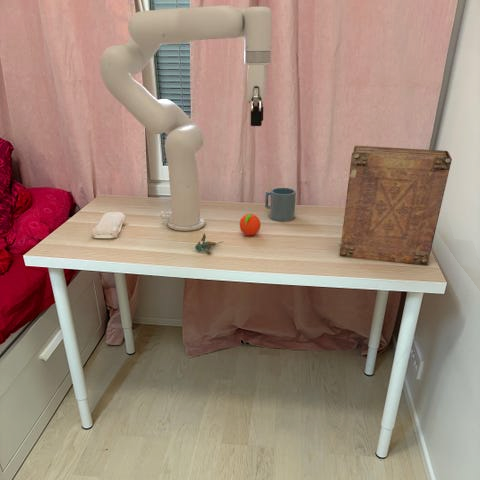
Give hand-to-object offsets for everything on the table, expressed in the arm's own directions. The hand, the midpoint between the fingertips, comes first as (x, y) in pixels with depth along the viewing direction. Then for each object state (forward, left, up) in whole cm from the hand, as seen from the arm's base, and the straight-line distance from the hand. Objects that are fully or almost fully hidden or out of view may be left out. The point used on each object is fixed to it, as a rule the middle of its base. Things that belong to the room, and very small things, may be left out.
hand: (257, 123), depth 144 cm
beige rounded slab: (-48, -8, -34) cm, 60 cm away
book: (+41, -14, -34) cm, 55 cm away
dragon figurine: (-12, -19, -34) cm, 41 cm away
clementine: (-1, -5, -34) cm, 34 cm away
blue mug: (+6, +16, -34) cm, 38 cm away
